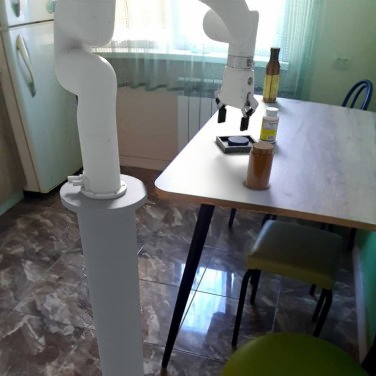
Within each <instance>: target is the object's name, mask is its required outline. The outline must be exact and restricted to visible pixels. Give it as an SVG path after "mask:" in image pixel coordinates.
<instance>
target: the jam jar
mask: <svg viewBox="0 0 376 376" xmlns="http://www.w3.org/2000/svg"><path fill="white" fill-rule="evenodd" d="M251 148H252V149H251V150H250V152H249V155H248V163H247V170H246V177H245V186H246V187H247V188H249V189H251V190H254V191H255V190H256V191H257V190H258V191H262V190H263V191H264V190H266V189H268V188H269V185H270V180H271V174H272V167H273V162H274V157H275V156H274V155H275V152H274V149H275V145H274V144H273V143H266V142H261V141H257V142H256V143H253V144H252V147H251Z"/></svg>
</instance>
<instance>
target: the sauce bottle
mask: <svg viewBox="0 0 376 376" xmlns="http://www.w3.org/2000/svg"><path fill="white" fill-rule="evenodd" d="M269 51H270V53H269V60H268V61H267V63H266V65H265V75H264V82H263V89H262V91H263V92H262V101H263V102H265V103H275V102H276V101H277V99H278V92H279V83H280V77H281V63H280V52H281V47H280V46H271V47H270V50H269Z"/></svg>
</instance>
